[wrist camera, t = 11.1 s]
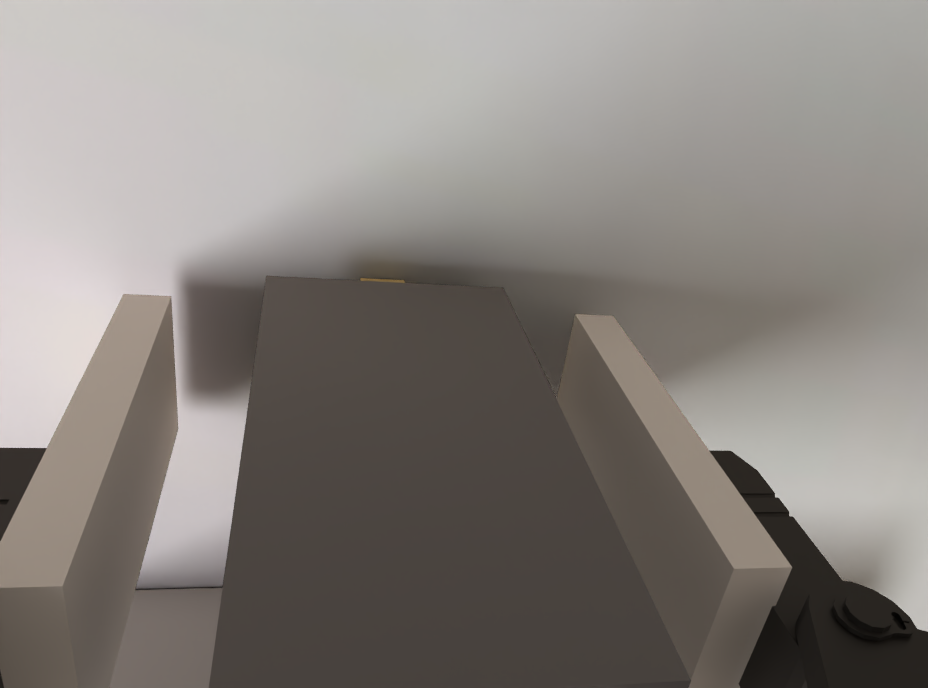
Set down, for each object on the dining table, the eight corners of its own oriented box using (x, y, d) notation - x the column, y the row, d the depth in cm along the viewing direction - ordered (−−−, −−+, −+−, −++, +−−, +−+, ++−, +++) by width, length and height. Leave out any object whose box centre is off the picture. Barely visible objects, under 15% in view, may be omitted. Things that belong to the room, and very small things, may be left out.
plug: (269, 252, 14) (205, 709, 6) (492, 265, 14) (691, 680, 7) (267, 439, 16) (217, 971, 8) (464, 441, 16) (595, 924, 9)
